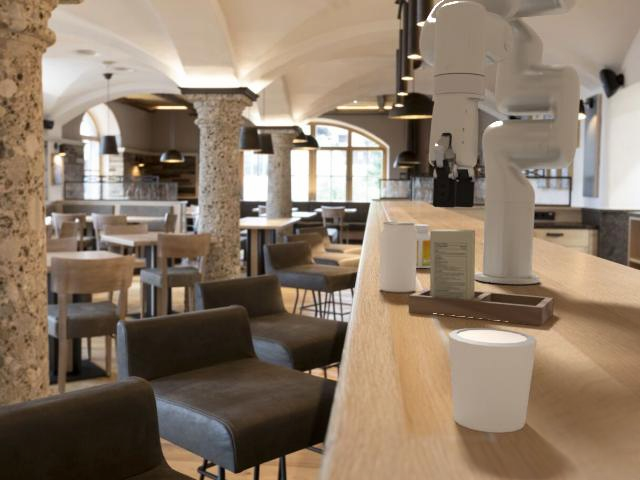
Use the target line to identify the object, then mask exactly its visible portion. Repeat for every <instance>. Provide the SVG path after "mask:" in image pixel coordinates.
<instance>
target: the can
mask: <svg viewBox="0 0 640 480" xmlns="http://www.w3.org/2000/svg"><path fill="white" fill-rule="evenodd" d="M415 224H416V223H415V222H404V221H403V222H402V221H388V222H387V221H384V222H383V225H382V228H381V229H380V238H379V239H380V241H379V268H378V269H379V273H378V275H379V277H378V280H379V281H378V285H379V286H378V287H379V289H380V291H381V292H385V293H391V294H409V293H414V291H415V290H416V286H417V285H416V283H417V269H416V260H417V231H416V228H415Z"/></svg>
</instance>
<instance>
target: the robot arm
mask: <svg viewBox="0 0 640 480" xmlns="http://www.w3.org/2000/svg"><path fill="white" fill-rule="evenodd" d="M577 1H578V0H441V1H440V2H438V3H437V4H436V5H435V6H434V7H433V8H432V9H431V11H430V12H429V15H428V16H427V18H426V19H425V21H424V23H423V26H422V27H421V31H420V35H419V42H418V44H419V45H418V46H419V52H420V55H421V58H422V60H423V61H424V62H425V63H426V64H427V65H428V66H430V67H433V72H432V99H431V101H433V102H434V104H433V108H432V114H431V115H432V116H431V123H430V124H431V125H430V126H431V127H430V136H429V146H428V162H429V164H430V165H431V166H432V167H434V170H433V187H432V188H433V189H432V190H433V191H432V192H433V193H432V206H433V207H434V208H473V207H474V202H475V183H476V182H475V180H476V179H475V178H476V174H475V170H476V165H477V161H478V153H479V103H482V102H484V101H485V95H486V94H485V92H486V91H485V90H486V67H487V65H495V64H496V65H497V67H496V76H495V87H494V88H495V89H494V103H495V107H496V109H497V110H498V111H499V112H500V113H501V114H503V115H507V116H551V117H552V118H543V119H542V118H540V119H539V118H536V119H533V118H532V119H531V118H530V119H529V118H527V119H526V118H525V119H524V118H523V119H502V120H498V121H495V122H493V123H490V124H489V125H488V126H487V127H486V128H485V129H484V131H483V135H482V138H481V139H482V140H481V141H482V142H481V145H482V147H481V148H482V154H483V163H484V179H485V181H484V182H485V185H484V187H485V190H484V212H483V214H484V216H483V217H484V219H483V220H484V221H483V243H482V246H483V247H482V266H481V267H482V271H477V272H475V280H477V281H479V282H485V283H489V282H490V283H491V284H500V285H534V284H538V283H540V281H541V279H540V275H537V274H535V273H532V272H533V254H534V252H533V251H534V227H535V205H536V193H535V190H534V189H535V188H534V187H533V185H532V183H531V181H529V180H528V178H527V176H525V174H524V173H523V171H524V170H560V169H566V168H568V167H570V165H572V164H573V162H574V159H575V156H576V152H577V143H578V129H579V116H580V103H581V101H580V100H581V84H580V77H579V73H578V72H577V70H576V68H574V67H573V66H572V65H568V64H564V63H563V64H562V63H561V64H560V63H559V64H557V63H556V64H544V65H543V54H544V53H543V52H544V44H543V43H544V42H543V40H542V39H541V37H540V36H539V35H538V33H537V32H536V31H535V30H534V28H533V27H531V26H530V25H529V23H527V22H526V21H525V20H524V19H523V18H530V17H531V18H534V17H544V16H554V15H555V16H557V15H562V14H566V13H569V12H571V11H572V9H574V7H575V5H576V4H577Z"/></svg>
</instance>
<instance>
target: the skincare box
mask: <svg viewBox="0 0 640 480" xmlns="http://www.w3.org/2000/svg"><path fill="white" fill-rule="evenodd" d="M429 235H430V268H429V269H430V270H429V272H430V273H429V277H430V278H429V279H430V280H429V281H430V282H429V285H430V286H429V287H430V296H434V297H445V298H455V299H466V300H472V299H474V291H475V284H476V282H475V280H476V279H475V273H476V272H475V270H476V269H475V267H476V266H475V265H476V263H475V261H476V254H475V253H476V230H475V229H443V228H442V229H437V228H436V229H432V230H429Z"/></svg>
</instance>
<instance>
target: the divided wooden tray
mask: <svg viewBox="0 0 640 480" xmlns="http://www.w3.org/2000/svg"><path fill="white" fill-rule="evenodd" d="M554 300H555V298H554V296H553V297H549V296H540V295H528V294H527V295H526V294H518V293H517V294H515V293H508V292H507V293H505V292H504V293H503V292H496V291H495V292H494V291H492V292H491V291H482V290H474V299H472V300H466V299H455V298H445V297H434V296H430V286H429V287H426V288H424V289H422V290H419V291H417V292H415V293H414V292H413V293H412V294H409V295H408V313H414V314H423V315H424V314H426V315H432V314H433V313H437V314H444V315H455V316H465V317H473V318H482V319H490V320H500V321H508V322H516V323H515V324H518V323H525V324H524V325H527V324H534V325H533V326H537V325H542V324H543V325H544V324H545V323H546V322H547V321H548V320H549V319H550V318H551V317H552V316H553V315H554V302H555V301H554ZM508 322H507V323H508ZM543 325H542V326H543Z"/></svg>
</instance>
